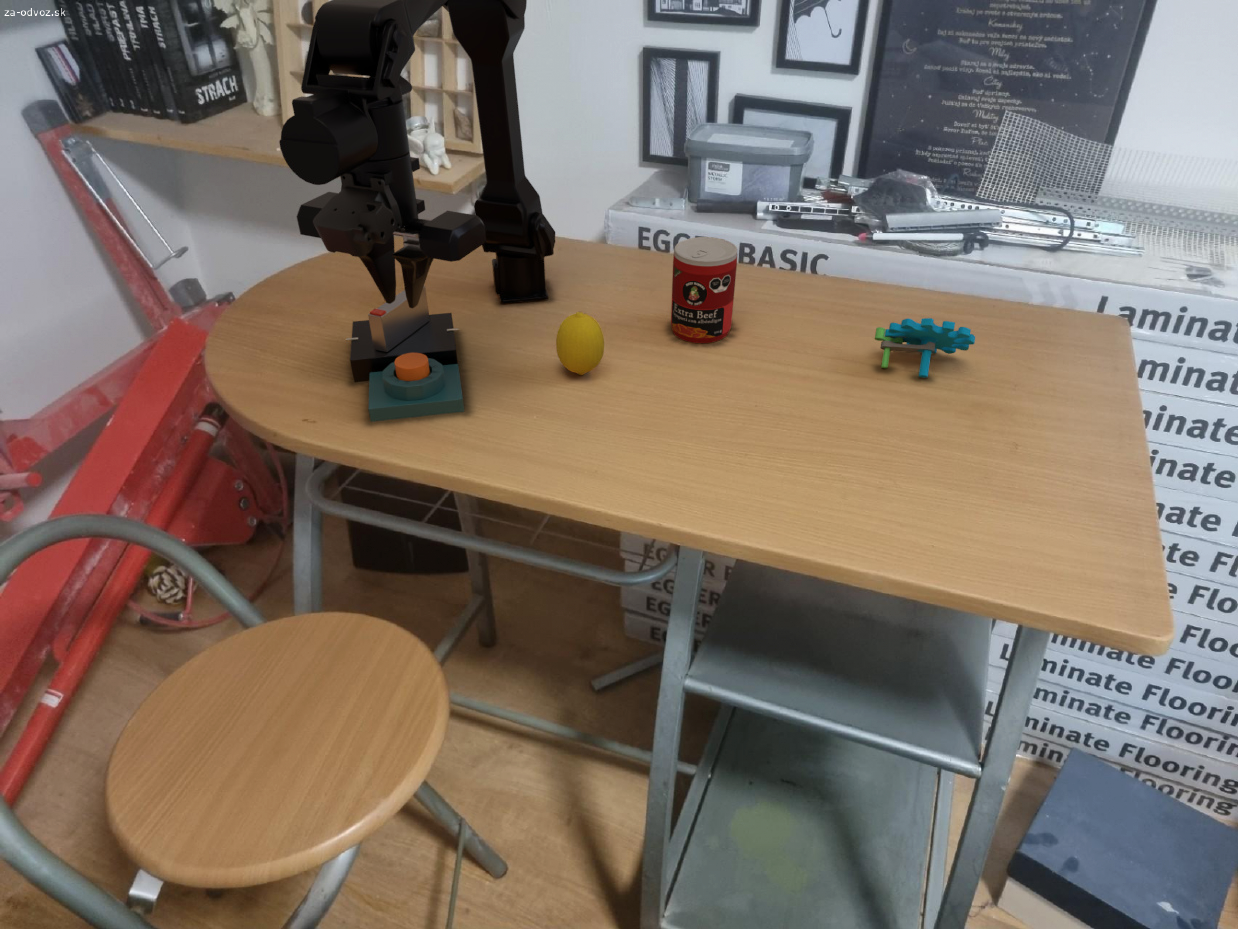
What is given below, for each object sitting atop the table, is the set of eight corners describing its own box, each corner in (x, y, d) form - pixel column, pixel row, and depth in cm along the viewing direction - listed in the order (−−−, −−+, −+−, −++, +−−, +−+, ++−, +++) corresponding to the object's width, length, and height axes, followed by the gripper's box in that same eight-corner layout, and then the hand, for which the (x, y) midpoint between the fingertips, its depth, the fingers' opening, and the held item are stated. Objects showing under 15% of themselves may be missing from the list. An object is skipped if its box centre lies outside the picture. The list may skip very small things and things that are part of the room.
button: (429, 364, 98) (427, 351, 97) (430, 380, 95) (428, 366, 94) (396, 368, 97) (394, 354, 96) (396, 384, 94) (394, 370, 93)
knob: (417, 317, 108) (412, 281, 105) (430, 320, 107) (425, 284, 104) (374, 349, 101) (367, 312, 98) (387, 352, 100) (380, 315, 98)
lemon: (598, 388, 100) (598, 325, 95) (552, 383, 101) (549, 321, 96) (609, 365, 104) (608, 304, 100) (564, 360, 105) (561, 299, 100)
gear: (976, 345, 105) (975, 315, 96) (969, 392, 104) (968, 366, 95) (881, 339, 109) (873, 309, 100) (874, 384, 108) (864, 358, 99)
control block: (459, 376, 102) (456, 349, 100) (464, 412, 96) (461, 384, 94) (371, 385, 100) (366, 358, 98) (370, 422, 94) (365, 394, 92)
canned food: (661, 338, 110) (664, 255, 103) (682, 312, 116) (686, 232, 109) (720, 349, 108) (727, 265, 101) (738, 322, 114) (745, 241, 107)
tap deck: (457, 327, 112) (455, 305, 110) (465, 378, 102) (462, 354, 100) (352, 337, 110) (347, 314, 108) (348, 390, 99) (343, 365, 98)
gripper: (240, 164, 79) (278, 320, 88) (414, 190, 73) (436, 355, 82) (319, 133, 87) (347, 279, 97) (481, 155, 82) (494, 308, 91)
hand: (402, 304), depth 91 cm, fingers closed
